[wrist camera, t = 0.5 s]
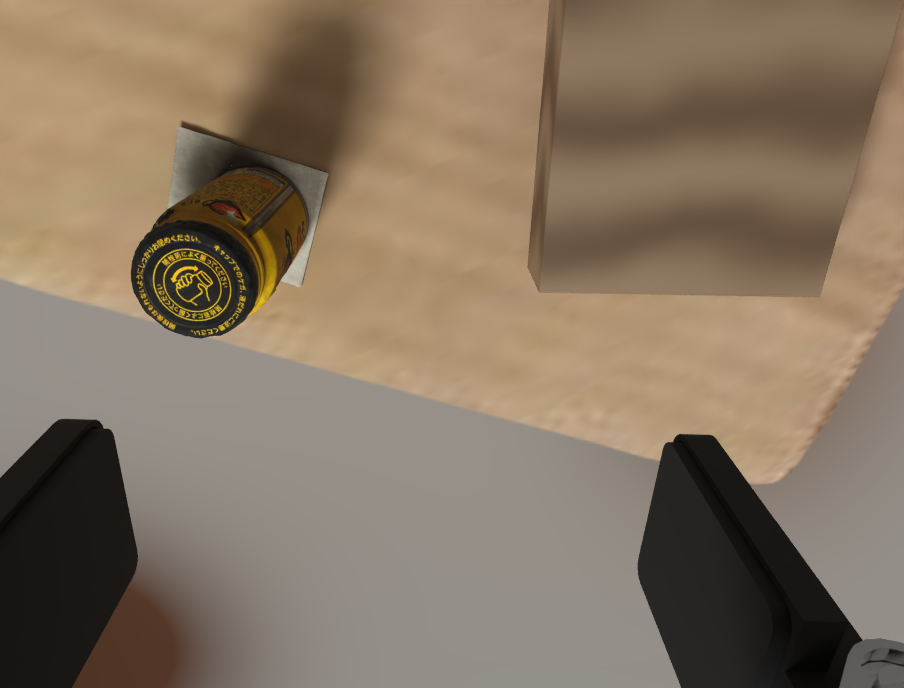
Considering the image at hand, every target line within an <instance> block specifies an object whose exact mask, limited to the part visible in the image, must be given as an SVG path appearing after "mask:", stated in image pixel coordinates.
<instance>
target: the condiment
mask: <svg viewBox="0 0 904 688" xmlns="http://www.w3.org/2000/svg"><path fill="white" fill-rule="evenodd" d="M231 165H232V166H231ZM328 174H329V173H325V172H322V171H319V170H316V169H313V168H310V167H307V166H304V165H301V164H298V163H294V162H290V161H288V160H285V159H282V158H279V157H276V156H272V155H269V154H266V153H263V152H259V151H256V150H253V149H250V148H246V147H242V146H239V145H236V144H233V143H230V142H227V141H224V140H221V139H218V138H215V137H212V136H208V135H205V134H201V133H198V132H194V131H192V130H188V129H185V128H182V127H179V126H178V132H177V141H176V149H175V157H174V164H173V173H172V180H171V186H170V193H169V197H170V199H169V202H168V207H167V210H166V211H165V212H164V213H163V214H162V215H161V216H160V217H159V219H158V220H157V221H156V223H155V224H154V225H153V228H152V230H151V232H149V233H147V235H146V236H145V237H144V239H143V240H142V241H141V242H140V244H139V245H138V247H137V249H136V251H135V255H134V257H133V260H132V268H131V282H132V286H133V290H134V293H135V295H136V297H137V299H138V300H139V302H140V304H141V306H142V308H143V309H144V311H145V312H146V313H147V314H148V315H150V316H151V317H152V318H153V319H155V320H156V321H157V322H158V323H160V324H161V325H162V326H163V327H164V328H166V329H168V330H170V331H173V332H175V333H178V334H182V335H184V336H191V337H194V338H205V337H209V336H221V335H223V334H225V333H227V332H229V331H230V330H232V329H234V328H235V327H237V326H238V325H239V324H240V323H242V322H243V321H244V320H245V319H246V318H247V316H248V315H251V314H253V313H254V312H256V311H257V310H259V309H260V308H261V307H262V306H263V305H264V304H265V303H266V302H267V301H268V299H269V298H270V296H271V295H272V294H273V293H274V292H275V290H276V287H277V285H278V284H279V282H280V281H281V282H285V283H288V284H291V285H295V286H297V287H300V288H301V285H302V281H303V277H304V272H305V269H306V264H307V260H308V256H309V252H310V248H311V244H312V240H313V236H314V232H315V228H316V224H317V219H318V215H319V211H320V207H321V203H322V198H323V194H324V190H325V186H326V182H327V178H328Z"/></svg>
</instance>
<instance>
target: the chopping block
mask: <svg viewBox="0 0 904 688" xmlns="http://www.w3.org/2000/svg"><path fill="white" fill-rule="evenodd" d="M903 3H904V0H550V2H549V14H548V26H547V38H546V50H545V62H544V74H543V86H542V98H541V111H540V123H539V135H538V147H537V159H536V171H535V183H534V195H533V207H532V219H531V232H530V244H529V256H528V269H529V271H530V273H531V276H532V278H533V280H534V282H535V284H536V287H537V289H538V291H539V292H543V293H601V294H659V295H717V296H775V297H820V294H821V291H822V287H823V284H824V280H825V277H826V273H827V270H828V266H829V263H830V259H831V256H832V252H833V249H834V245H835V242H836V238H837V235H838V231H839V228H840V224H841V221H842V217H843V214H844V210H845V207H846V203H847V200H848V196H849V192H850V189H851V185H852V182H853V178H854V175H855V171H856V168H857V164H858V161H859V157H860V154H861V150H862V147H863V143H864V140H865V136H866V133H867V129H868V126H869V122H870V119H871V115H872V112H873V108H874V105H875V101H876V98H877V94H878V90H879V87H880V83H881V80H882V76H883V73H884V69H885V66H886V62H887V59H888V55H889V52H890V48H891V45H892V41H893V38H894V34H895V31H896V27H897V24H898V20H899V17H900V13H901V10H902V6H903Z"/></svg>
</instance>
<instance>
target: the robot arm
mask: <svg viewBox="0 0 904 688" xmlns="http://www.w3.org/2000/svg"><path fill="white" fill-rule="evenodd" d="M137 559H138V554H137V548H136V543H135V538H134V533H133V528H132V524H131V519H130V513H129V508H128V504H127V498H126V493H125V489H124V483H123V479H122V473H121V468H120V464H119V459H118V454H117V449H116V444H115V439H114V435H113V433H112V431H111V430H110V429H104V428H103V425H102V424H101V423H100V421H97V420H82V419H81V420H80V419H79V420H78V419H60V420H58V421H56V422H55V423H54V424H53V425H52V426H51V427H50V428H49V429H48V430H47V431H46V432H45V433H44V434H43V435H42V436H41V437H40V438H39V439H38V440H37V441H36V442H35V443H34V444H33V445H32V446H31V447H30V448H29V449H28V450H27V451H26V452H25V453H24V454H23V456H21V457H20V458H19V459H18V460H17V461H16V462H15V463H14V464H13V465H12V466H11V468H9V469H8V470H7V471H6V472H5V474H4V475H3V476H2V477H1V478H0V688H72V686H73V684H74V683H75V681H76V679H77V677H78V675H79V674H80V672H81V670H82V668H83V666H84V665H85V663H86V661H87V659H88V657H89V656H90V654H91V652H92V650H93V648H94V646H95V644H96V643H97V641H98V639H99V637H100V635H101V634H102V632H103V630H104V628H105V627H106V625H107V623H108V621H109V619H110V618H111V616H112V614H113V612H114V610H115V608H116V607H117V605H118V603H119V601H120V599H121V598H122V596H123V594H124V592H125V590H126V588H127V586H128V585H129V583H130V581H131V580H132V578H133V575H134V573H135V570H136V567H137V561H138V560H137ZM638 575H639V580H640V583H641V586H642V589H643V591H644V594H645V596H646V599H647V601H648V604H649V606H650V609H651V611H652V614H653V617H654V619H655V622H656V624H657V626H658V629H659V632H660V634H661V637H662V640H663V642H664V644H665V647H666V650H667V652H668V655H669V657H670V660H671V663H672V665H673V668H674V670H675V673H676V675H677V678H678V680H679V683H680V686H681V688H904V644H903V643H901V642H896V641H891V640H886V639H866V640H862V639H861V637H860V636H859V635H858V633H857V632H856V630H855V629H854V628H853V626H852V625H851V624H850V622H849V621H848V619H847V618H846V617H845V615H844V614H843V612H842V611H841V610H840V608H839V607H838V606H837V604H836V603H835V601H834V600H833V599H832V597H831V596H830V595H829V593H828V592H827V590H826V589H825V588H824V586H823V585H822V584H821V582H820V581H819V579H818V578H817V577H816V575H815V574H814V573H813V571H812V570H811V569H810V567H809V566H808V565H807V563H806V562H805V560H804V559H803V558H802V556H801V555H800V553H799V552H798V551H797V549H796V548H795V547H794V545H793V544H792V542H791V541H790V539H789V538H788V537H787V535H786V534H785V533H784V531H783V530H782V529H781V527H780V526H779V524H778V523H777V522H776V520H775V519H774V518H773V517H772V515H771V514H770V512H769V511H768V510H767V508H766V507H765V505H764V504H763V503H762V501H761V500H760V499H759V497H758V496H757V494H756V493H755V492H754V490H753V489H752V488H751V486H750V485H749V483H748V482H747V481H746V479H745V478H744V477H743V475H742V474H741V472H740V471H739V470H738V468H737V467H736V465H735V464H734V463H733V461H732V460H731V459H730V457H729V456H728V454H727V453H726V452H725V450H724V449H723V448H722V446H721V445H720V443H719V442H718V441H717V439H716V438H715V437H714V436H712V435H692V434H679V435H677V436H676V437H675V439H674V441H673V442H667V443H666V444H665V445H664V448H663V451H662V456H661V460H660V465H659V469H658V474H657V478H656V483H655V487H654V491H653V496H652V500H651V505H650V509H649V514H648V519H647V523H646V527H645V532H644V536H643V541H642V545H641V549H640V554H639V559H638Z"/></svg>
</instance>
